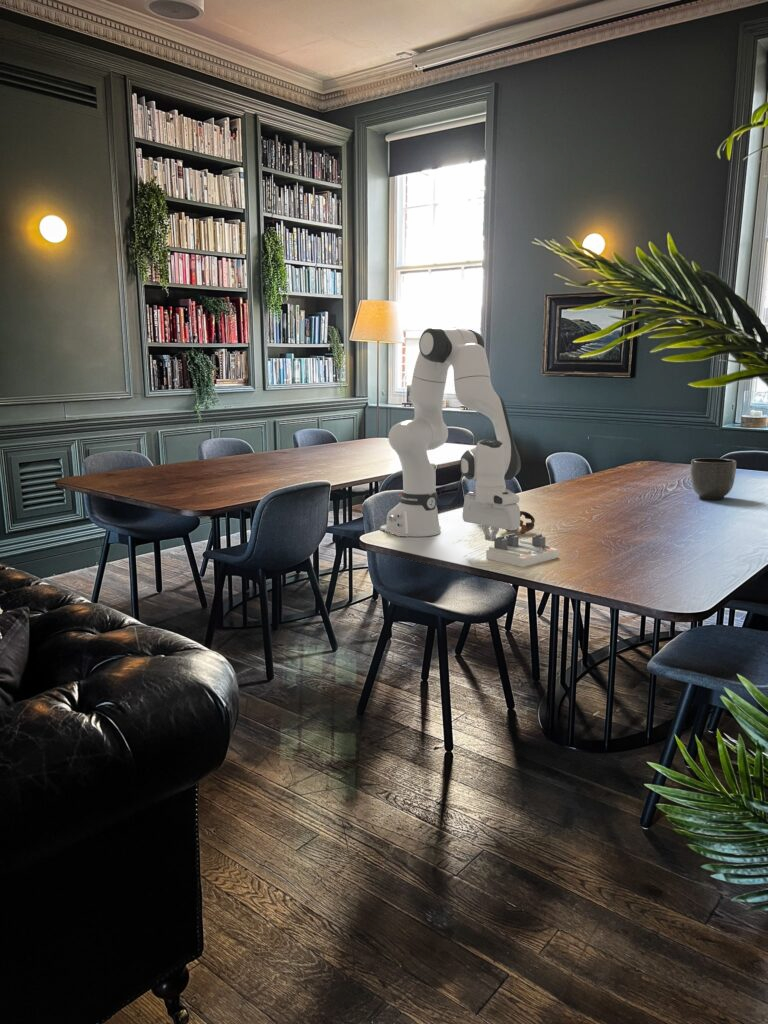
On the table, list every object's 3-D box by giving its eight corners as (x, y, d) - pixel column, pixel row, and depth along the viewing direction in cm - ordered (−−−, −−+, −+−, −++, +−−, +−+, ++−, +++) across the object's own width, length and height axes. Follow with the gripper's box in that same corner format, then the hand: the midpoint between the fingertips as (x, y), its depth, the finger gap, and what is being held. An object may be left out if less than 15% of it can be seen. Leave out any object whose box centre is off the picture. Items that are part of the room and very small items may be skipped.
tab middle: (505, 546, 230) (505, 533, 229) (510, 545, 232) (510, 532, 231) (513, 548, 228) (513, 535, 227) (518, 547, 229) (518, 534, 229)
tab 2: (532, 547, 229) (532, 534, 228) (537, 546, 230) (537, 533, 230) (540, 548, 226) (540, 536, 226) (545, 547, 228) (545, 534, 227)
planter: (683, 495, 329) (685, 458, 326) (724, 494, 328) (726, 457, 325) (697, 502, 312) (700, 463, 309) (740, 501, 311) (743, 462, 308)
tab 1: (494, 549, 227) (494, 536, 226) (499, 548, 229) (499, 535, 228) (501, 551, 225) (502, 538, 224) (507, 549, 226) (507, 536, 226)
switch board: (486, 558, 228) (486, 547, 227) (521, 549, 238) (521, 539, 237) (523, 567, 217) (523, 555, 216) (558, 557, 227) (558, 546, 226)
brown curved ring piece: (524, 529, 269) (534, 511, 265) (530, 546, 262) (540, 528, 257) (493, 522, 267) (502, 504, 262) (497, 539, 259) (506, 520, 254)
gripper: (457, 492, 233) (457, 536, 235) (509, 500, 217) (508, 547, 220) (472, 489, 237) (472, 533, 239) (523, 497, 221) (523, 544, 224)
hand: (490, 540), depth 229 cm, fingers closed
